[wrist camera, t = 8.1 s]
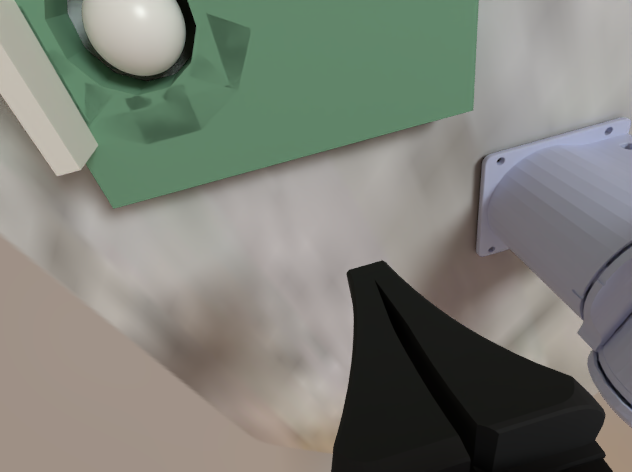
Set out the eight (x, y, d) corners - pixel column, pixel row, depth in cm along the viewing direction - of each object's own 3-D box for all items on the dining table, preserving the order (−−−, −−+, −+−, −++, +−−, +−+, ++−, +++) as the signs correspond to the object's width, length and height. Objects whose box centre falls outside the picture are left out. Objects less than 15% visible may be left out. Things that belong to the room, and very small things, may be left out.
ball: (130, -39, 15) (190, -39, 14) (160, 55, 18) (214, 65, 16) (41, -24, 13) (100, -22, 12) (88, 81, 16) (142, 95, 14)
